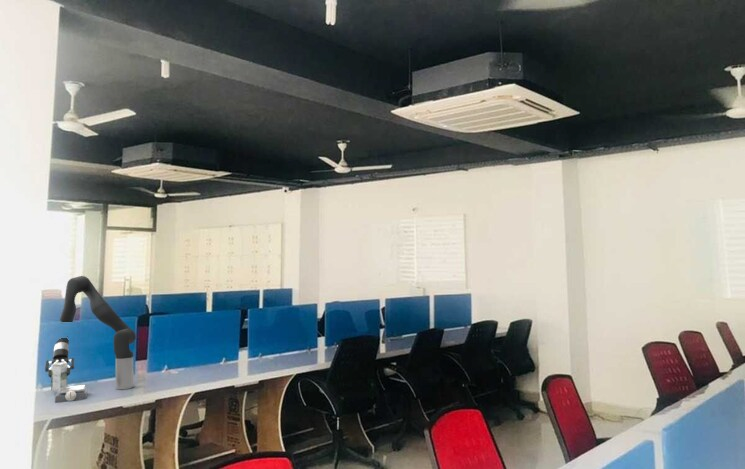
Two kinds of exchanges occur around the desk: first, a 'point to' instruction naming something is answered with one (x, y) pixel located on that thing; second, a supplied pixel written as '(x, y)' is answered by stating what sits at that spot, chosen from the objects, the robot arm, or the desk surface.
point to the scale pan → (71, 388)
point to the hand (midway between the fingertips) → (59, 375)
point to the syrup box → (58, 375)
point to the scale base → (71, 396)
